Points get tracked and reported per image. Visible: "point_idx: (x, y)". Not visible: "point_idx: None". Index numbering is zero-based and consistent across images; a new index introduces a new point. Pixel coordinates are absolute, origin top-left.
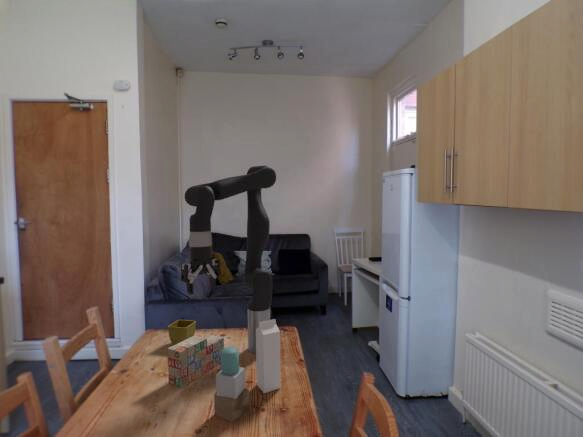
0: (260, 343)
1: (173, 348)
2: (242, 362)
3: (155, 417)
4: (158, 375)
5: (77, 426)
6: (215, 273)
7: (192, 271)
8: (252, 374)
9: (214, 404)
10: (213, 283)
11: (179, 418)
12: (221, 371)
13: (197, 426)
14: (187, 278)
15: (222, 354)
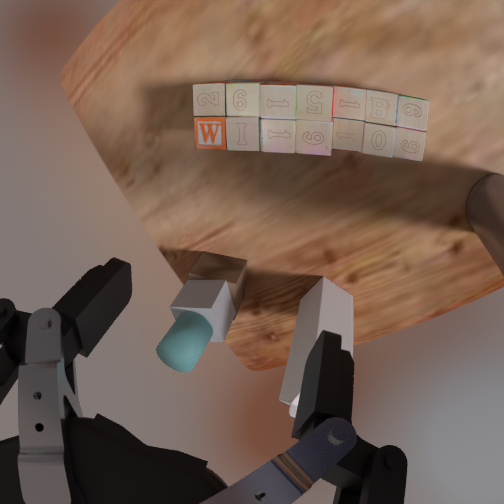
0: (294, 369)
1: (200, 104)
2: (413, 196)
3: (139, 165)
4: (245, 25)
5: (68, 78)
6: (339, 481)
7: (43, 418)
8: (362, 249)
9: (197, 261)
10: (299, 403)
11: (161, 205)
12: (184, 310)
13: (166, 245)
14: (18, 370)
15: (157, 350)
